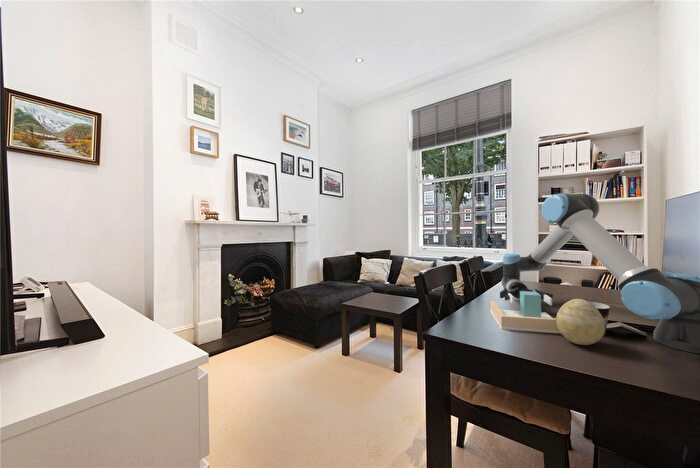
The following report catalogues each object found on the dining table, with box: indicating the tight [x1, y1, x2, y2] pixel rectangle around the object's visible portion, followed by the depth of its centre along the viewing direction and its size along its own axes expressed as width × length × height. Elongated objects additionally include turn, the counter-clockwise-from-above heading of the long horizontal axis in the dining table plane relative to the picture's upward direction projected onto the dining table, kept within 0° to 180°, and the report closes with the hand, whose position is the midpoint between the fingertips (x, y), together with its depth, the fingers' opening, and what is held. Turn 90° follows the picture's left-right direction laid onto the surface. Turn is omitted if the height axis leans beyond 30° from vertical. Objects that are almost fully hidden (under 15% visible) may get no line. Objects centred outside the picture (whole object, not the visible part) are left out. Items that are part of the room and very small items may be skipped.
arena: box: [489, 300, 561, 334], centre depth 117 cm, size 22×22×5 cm
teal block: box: [519, 291, 542, 318], centre depth 118 cm, size 6×6×10 cm
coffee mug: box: [588, 301, 611, 336], centre depth 104 cm, size 12×9×10 cm
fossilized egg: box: [555, 298, 605, 346], centre depth 95 cm, size 13×13×15 cm
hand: (531, 301), depth 116 cm, fingers open, 13 cm apart
